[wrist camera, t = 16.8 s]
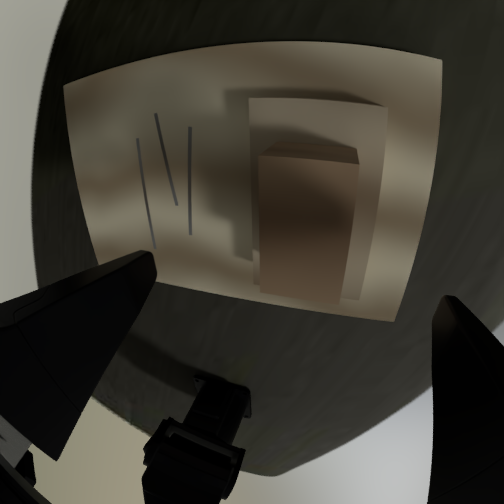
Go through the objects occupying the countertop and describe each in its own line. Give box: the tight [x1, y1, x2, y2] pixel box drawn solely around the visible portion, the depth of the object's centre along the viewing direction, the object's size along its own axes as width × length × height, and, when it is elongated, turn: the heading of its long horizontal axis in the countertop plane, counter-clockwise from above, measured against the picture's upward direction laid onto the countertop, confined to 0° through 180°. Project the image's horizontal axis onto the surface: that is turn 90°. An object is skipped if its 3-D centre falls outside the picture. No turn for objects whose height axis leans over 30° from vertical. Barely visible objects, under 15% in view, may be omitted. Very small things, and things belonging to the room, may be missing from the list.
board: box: [63, 41, 442, 322], centre depth 17 cm, size 16×24×2 cm, turn 91°
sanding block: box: [249, 97, 388, 305], centre depth 13 cm, size 10×6×5 cm, turn 1°
